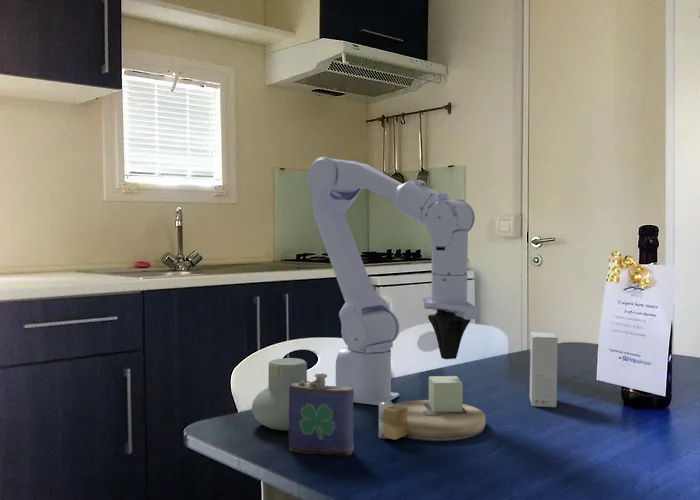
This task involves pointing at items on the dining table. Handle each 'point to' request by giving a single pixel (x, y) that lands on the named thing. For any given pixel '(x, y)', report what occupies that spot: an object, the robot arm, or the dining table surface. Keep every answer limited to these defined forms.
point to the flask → (320, 418)
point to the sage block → (445, 393)
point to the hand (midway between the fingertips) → (448, 358)
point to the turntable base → (388, 404)
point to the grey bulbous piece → (278, 392)
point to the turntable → (430, 421)
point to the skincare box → (543, 369)
